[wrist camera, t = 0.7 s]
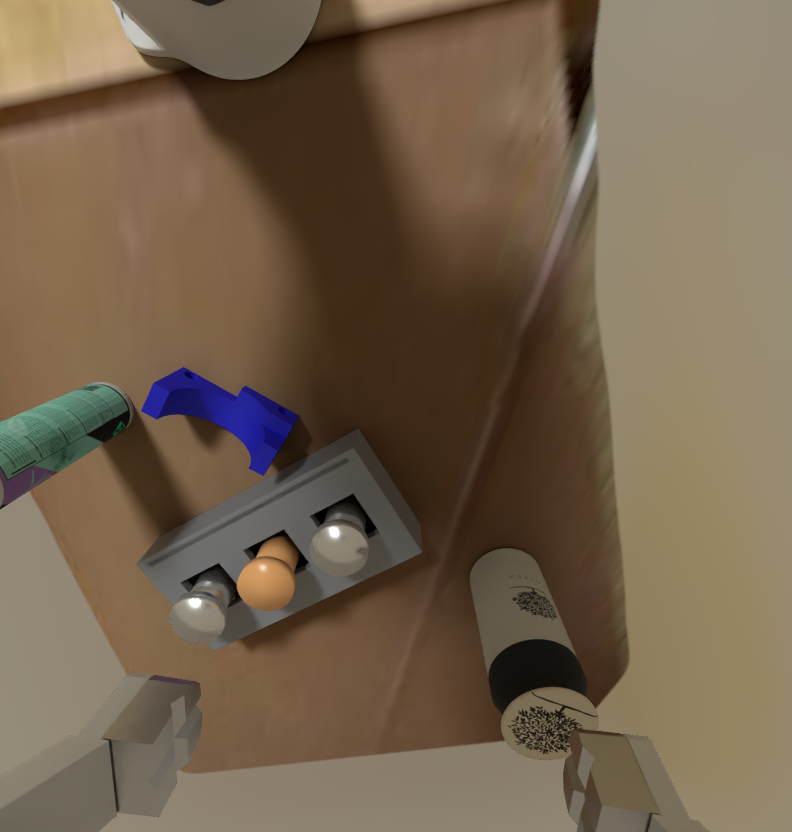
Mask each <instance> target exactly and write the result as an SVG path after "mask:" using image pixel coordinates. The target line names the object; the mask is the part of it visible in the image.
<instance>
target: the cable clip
mask: <svg viewBox="0 0 792 832" xmlns="http://www.w3.org/2000/svg"><path fill="white" fill-rule="evenodd" d="M141 411H142V412H144V413H146V414H148V415H150V416H151V417H153V418H155V419H159V418H161V417H163V416H167V415H175V414H181V415H190V416H195V417H199V418H203V419H206V420H208V421H211V422H213V423H216V424H218V425H220V426H222V427H224V428H225V429H227V430H229V431H230V432H231V433H233V434H234V435H235V436H237V437H238V438H239V439H240V440H241V441H242V442H243V443H244V444H245V446H246V447H247V449H248V451H249V453H250V456H251V464H250V467H249V469H251V470H253V471H255V472H257V473H259V474H261V475H263V476H264V474H265V473H266V471H267V469H268V468H269V466H270V465H271V463H272V461H273V460H274V458H275V457H276V455H277V453H278V452H279V450H280V448H281V447H282V445H283V443H284V441H285V440H286V438H287V436H288V435H289V433H290V431H291V429H292V428H293V426H294V424H295V422H296V421H297V419H298V417H299V415H297V414H295V413H293V412H291V411H290V410H288V409H286V408H284V407H282V406H281V405H279V404H277V403H275V402H274V401H272V400H270V399H268V398H266V397H265V396H263V395H261V394H259V393H258V392H256V391H254V390H252V389H250V388H249V387H247V386H245V387H243V388H242V389H241V391H240V393H239V395H238V397H236V396H235V395H233V394H231V393H229V392H227V391H226V390H224V389H222V388H220V387H218V386H217V385H215V384H213V383H211V382H209V381H208V380H206V379H204V378H202V377H200V376H199V375H197V374H195V373H193V372H191V371H190V370H188V369H186V368H184V367H183V368H181V369H179V370H177V371H175V372H174V373H172V374H170V375H168V376H166V377H164V378H162V379H160V380H158V381H157V382H155V383H154V384H153V386H152V388H151V390H150V392H149V395H148V397H147V399H146V401H145V403H144V406H143V408H142V410H141Z"/></svg>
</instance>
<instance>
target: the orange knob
mask: <svg viewBox="0 0 792 832" xmlns="http://www.w3.org/2000/svg"><path fill="white" fill-rule="evenodd" d="M300 553H301V551H300V550H299V549H298V547H297V546H296V545H295V543H294V542H293V541H292V539H291V538H290V537H289V535H288V534H287V533H282V532H278V533H276V534H274V535H272V536H270V537H268V538H266V539H265V540H264V542H263V544H262V546H261V548H260V550H259V552H258V554H257V556H256V558H254V559H252V560H250V561H249V562H248V563H247V564H246V565H245V566H244V568H243V570H242V572H241V574H240V576H239V578H238V581H237V590H238V593H239V595H240V597H241V598H242V599H243V601H244V602H245V603H247V604H248V605H249V606H251V607H253V608H255V609H258V610H263V611H274V610H278V609H281V608H283V607H284V606H286V605H287V604H288V603H289V602H290V600H291V599H292V596H293V593H294V590H295V587H296V576H295V573H294V571H295V568H296V565H297V562H298V559H299V556H300Z"/></svg>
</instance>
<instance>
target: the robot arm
mask: <svg viewBox="0 0 792 832" xmlns="http://www.w3.org/2000/svg"><path fill="white" fill-rule="evenodd" d="M111 2H112V4H113V7H114V9H115V11H116V14H117V16H118V18H119V20H120V23H121V25H122V27H123V30H124V32H125V34H126V36H127V38H128V40H129V41H130V42H131V44H132V45H133V46H134V47H135V48H136V49H137V50H138V51H140V52H141V53H143V54H146V55H150V56H156V57H174V58H177V59H180V60H182V61H184V62H186V63H188V64H190V65H192V66H193V67H195V68H197V69H199V70H201V71H203V72H205V73H207V74H210V75H213V76H216V77H220V78H224V79H232V80H244V79H252V78H256V77H260V76H263V75H266V74H268V73H270V72H272V71H274V70H276V69H278V68H279V67H281V66H282V65H283V64H285V63H286V62H287V61H288V60H289V59H291V58H292V57H293V56H294V55H295V53H296V52H297V51H298V50H299V49H300V47H301V46H302V45H303V43H304V42H305V40H306V39H307V37H308V35H309V34H310V32H311V30H312V27H313V25H314V23H315V20H316V18H317V15H318V12H319V8H320V4H321V0H111ZM200 696H201V691H200V683H198V682H196V681H189V680H183V679H176V678H170V677H164V676H157V675H148V674H141V673H135V672H133V673H131V674H130V675H128V676H126V677H125V678H124V680H123V681H122V682H121V683H120V684H119V686H118V687H117V688H116V689H115V690H114V692H113V693H112V694H111V695H110V696H109V698H108V699H107V700H106V701H105V703H104V704H103V705H102V706H101V707H100V709H99V710H98V711H97V712H96V713H95V715H94V716H93V717H92V718H91V719H90V721H89V722H88V723H87V724H86V725H85V727H84V728H83V729H82V730H81V731H80V733H79V734H78V735H77V736H72V735H70V736H68V737H66V738H64V739H63V740H61V741H59V742H57V743H56V744H54V745H52V746H51V747H49V748H47V749H45V750H44V751H42V752H40V753H38V754H36V755H35V756H33V757H31V758H29V759H28V760H26V761H24V762H22V763H21V764H19V765H17V766H15V767H14V768H12V769H10V770H9V771H7V772H5V773H3V774H2V775H0V832H99V831H100V830H101V829H102V828H103V827H104V826H105V825H107V824H108V823H109V822H110V821H111V820H112V819H114V818H115V817H116V816H117V813H125V814H135V815H144V816H153V817H159V816H160V814H161V812H162V810H163V808H164V807H165V805H166V803H167V801H168V799H169V797H170V795H171V794H172V792H173V790H174V788H175V786H176V784H177V776H176V771H177V770H179V769H180V768H181V767H183V766H184V765H186V764H187V763H188V762H189V760H190V758H191V756H192V754H193V752H194V750H195V748H196V745H197V742H198V739H199V736H200V733H201V726H202V712H201V711H200V709H199V708H198V707H197V705H196V703H197V702H198V700H199V698H200ZM569 745H570V749H571V752H572V754H571V755H570V756H569V757H568V758H566V760H565V765H564V772H563V781H564V794H565V801H566V805H567V809H568V813H569V816H570V817H571V818H572V819H573V820H574V822H575V823H576V824H577V825H578V828H577V832H710V831H709V830H708V829H707V828H706V827H705V826H703V825H702V824H701V823H700V822H699V821H697V820H691V819H690V818H689V816H688V814H687V812H686V810H685V807H684V805H683V803H682V801H681V799H680V797H679V795H678V793H677V791H676V789H675V787H674V785H673V783H672V781H671V779H670V777H669V775H668V773H667V771H666V769H665V767H664V764H663V763H662V761H661V758H660V756H659V754H658V752H657V750H656V748H655V746H654V744H653V742H652V741H651V740H650V739H649V738H648V737H645V736H636V735H628V734H620V733H611V732H602V731H594V730H585V729H576V728H573V730H572V732H571V734H570V738H569Z"/></svg>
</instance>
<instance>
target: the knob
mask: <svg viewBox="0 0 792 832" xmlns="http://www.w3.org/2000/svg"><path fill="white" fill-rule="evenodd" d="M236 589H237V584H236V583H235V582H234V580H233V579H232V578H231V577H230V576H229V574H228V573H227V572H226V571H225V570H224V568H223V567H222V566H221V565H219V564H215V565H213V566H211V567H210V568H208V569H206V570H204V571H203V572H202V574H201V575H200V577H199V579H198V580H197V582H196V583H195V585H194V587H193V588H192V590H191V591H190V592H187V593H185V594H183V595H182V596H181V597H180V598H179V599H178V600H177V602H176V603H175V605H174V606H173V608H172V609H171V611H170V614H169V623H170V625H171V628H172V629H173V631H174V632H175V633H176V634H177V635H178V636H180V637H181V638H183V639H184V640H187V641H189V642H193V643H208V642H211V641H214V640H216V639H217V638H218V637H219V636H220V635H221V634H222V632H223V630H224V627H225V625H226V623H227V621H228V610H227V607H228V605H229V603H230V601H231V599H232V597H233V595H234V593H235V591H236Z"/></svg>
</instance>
